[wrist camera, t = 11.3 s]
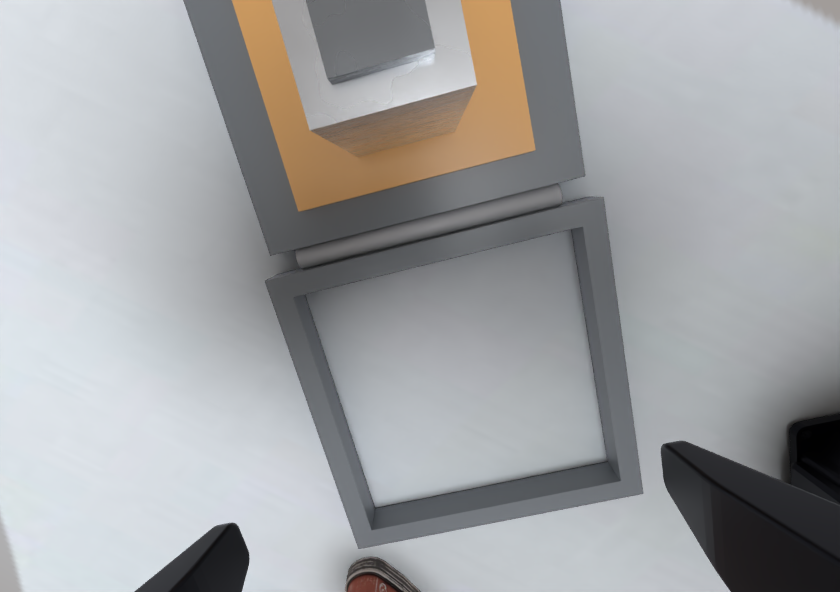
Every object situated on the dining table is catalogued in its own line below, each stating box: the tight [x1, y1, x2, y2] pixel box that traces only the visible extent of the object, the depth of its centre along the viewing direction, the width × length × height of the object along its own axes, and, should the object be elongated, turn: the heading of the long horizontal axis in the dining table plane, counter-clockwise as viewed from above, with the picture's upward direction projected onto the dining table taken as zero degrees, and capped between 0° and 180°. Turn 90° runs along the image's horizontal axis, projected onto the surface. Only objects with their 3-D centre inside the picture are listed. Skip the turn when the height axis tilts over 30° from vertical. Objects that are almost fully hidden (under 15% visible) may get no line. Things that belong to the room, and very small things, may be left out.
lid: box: [183, 0, 585, 269], centre depth 16 cm, size 14×13×2 cm
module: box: [272, 0, 477, 157], centre depth 12 cm, size 4×6×8 cm, turn 14°
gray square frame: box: [265, 197, 643, 549], centre depth 20 cm, size 15×15×2 cm
